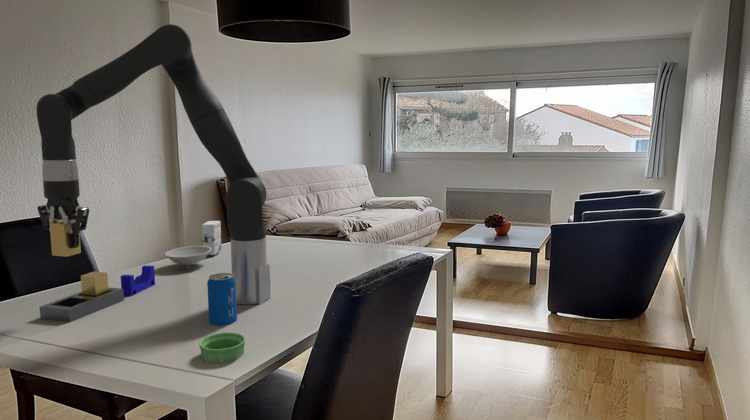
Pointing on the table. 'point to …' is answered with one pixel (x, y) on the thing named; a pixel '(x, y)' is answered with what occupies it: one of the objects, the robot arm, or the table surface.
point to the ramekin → (222, 340)
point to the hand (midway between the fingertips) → (66, 246)
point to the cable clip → (138, 281)
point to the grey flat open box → (79, 305)
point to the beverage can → (222, 299)
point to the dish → (188, 254)
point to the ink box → (212, 236)
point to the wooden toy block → (62, 240)
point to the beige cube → (94, 284)
